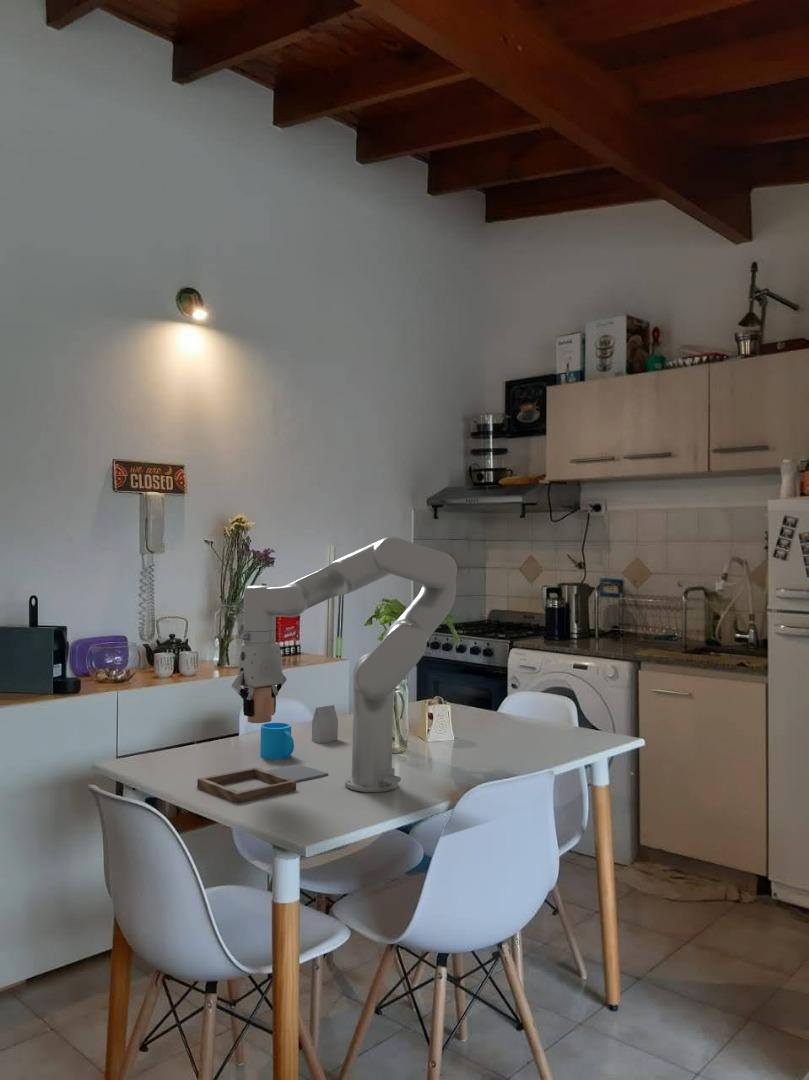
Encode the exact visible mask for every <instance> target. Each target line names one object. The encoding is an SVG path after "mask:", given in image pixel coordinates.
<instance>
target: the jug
mask: <svg viewBox="0 0 809 1080" xmlns="http://www.w3.org/2000/svg"><path fill="white" fill-rule="evenodd" d="M248 690H249V688H248ZM252 700H254V716H253V717H249V716H247V723H250V724H266V723H271V722H272V716H274V715H275V713H274V698H273V697H271V686H265V687H257V688H254V692H253V695H252Z"/></svg>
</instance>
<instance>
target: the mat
mask: <svg viewBox="0 0 809 1080" xmlns="http://www.w3.org/2000/svg"><path fill="white" fill-rule="evenodd" d="M265 771H268V772H271V773H274V774H277V775H280V776H283V777H285V778H288V779H291V780H294V781H296V783H298V782H303V781H308V780H313V779H317V778H322V777H326V776H329V774H328V772H325V771H323V770H318V769H316V768H312V767H310V766H306V765H303V764H299V763H297V764H293V765H288V766H282V767H277V768H272V769H266V770H265Z"/></svg>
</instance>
